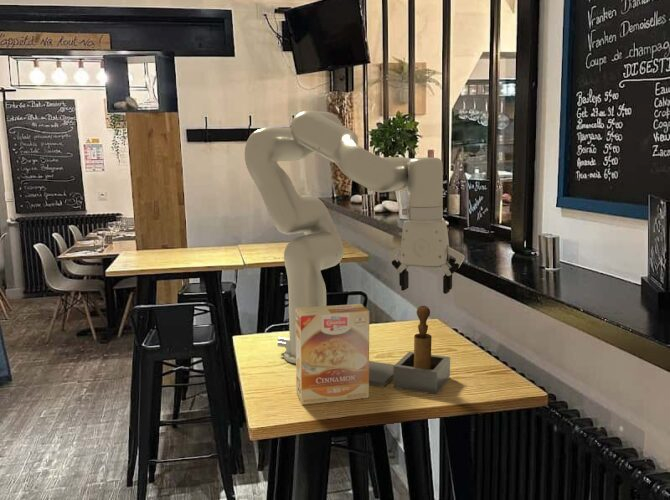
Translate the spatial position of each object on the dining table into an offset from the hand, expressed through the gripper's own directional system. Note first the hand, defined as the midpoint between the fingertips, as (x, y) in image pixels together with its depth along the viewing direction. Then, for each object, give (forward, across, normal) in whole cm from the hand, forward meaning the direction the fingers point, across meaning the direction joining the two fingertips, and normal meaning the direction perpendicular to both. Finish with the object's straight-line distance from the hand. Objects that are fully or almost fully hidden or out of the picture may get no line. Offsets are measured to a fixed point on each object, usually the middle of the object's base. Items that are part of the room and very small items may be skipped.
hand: (425, 290), depth 140 cm
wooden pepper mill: (+22, -1, 0) cm, 22 cm away
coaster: (+21, -13, 0) cm, 25 cm away
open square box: (+22, -1, 0) cm, 22 cm away
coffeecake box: (+22, -16, -15) cm, 31 cm away
